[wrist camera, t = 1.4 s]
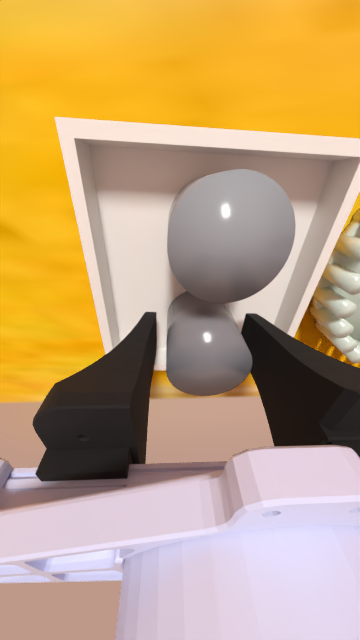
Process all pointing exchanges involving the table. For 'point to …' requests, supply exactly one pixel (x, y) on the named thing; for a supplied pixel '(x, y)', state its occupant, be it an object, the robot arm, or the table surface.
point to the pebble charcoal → (204, 347)
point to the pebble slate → (229, 234)
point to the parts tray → (156, 199)
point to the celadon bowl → (341, 293)
